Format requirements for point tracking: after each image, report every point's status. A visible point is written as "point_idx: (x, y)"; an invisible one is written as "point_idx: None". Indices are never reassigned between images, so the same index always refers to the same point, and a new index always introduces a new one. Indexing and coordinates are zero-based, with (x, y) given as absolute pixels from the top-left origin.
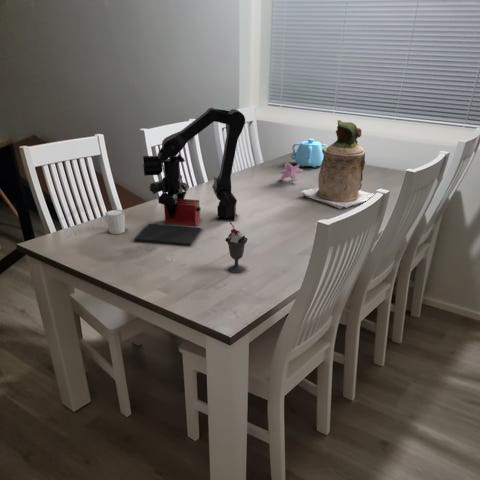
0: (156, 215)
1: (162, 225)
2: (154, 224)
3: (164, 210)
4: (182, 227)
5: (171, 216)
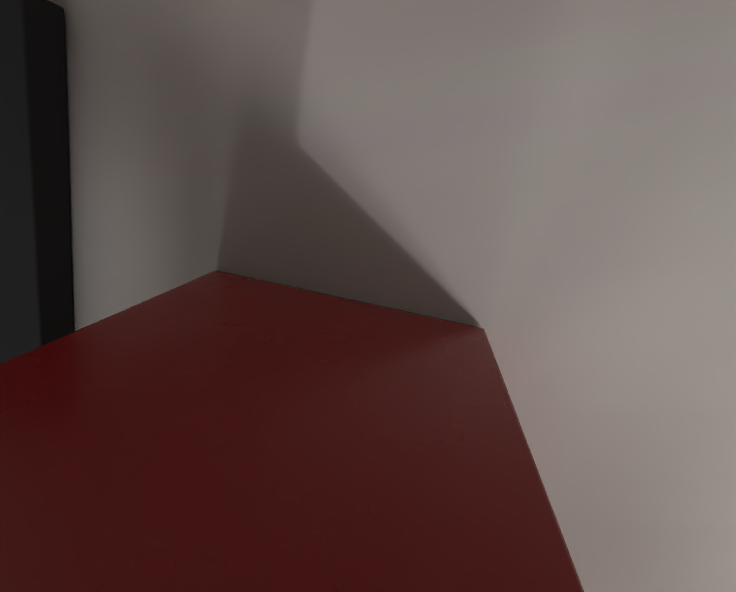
0: (665, 26)
1: (8, 254)
2: (13, 104)
3: (2, 364)
4: None
5: None
